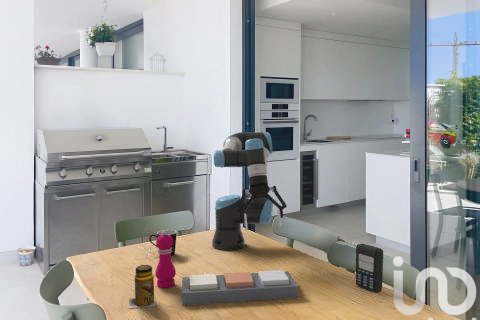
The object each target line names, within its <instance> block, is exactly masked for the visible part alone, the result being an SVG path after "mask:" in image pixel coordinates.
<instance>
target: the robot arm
mask: <svg viewBox="0 0 480 320" xmlns="http://www.w3.org/2000/svg"><path fill="white" fill-rule="evenodd" d="M272 154H273V142H272V136H271V133H269V132H268V131H265V132H264V131H260V132H257V131H256V132H255V131H252V132H251V131H249V132H245V131H243V132H242V131H241V132H236V133H234V134H231V135H229V136H228V137H226V138H225V140H224V142H223V147H222V149H216V150H214V152H213V165H214V166H215V168H247V172H248V173H247V174H248V189H245V188H244V189H243V188H242V191H241V193H242V194H241V195H239V194H230V195H228V194H227V195H224V196H221V197H217V199H216V200H215V206H214V211H215V231H214V235H213V238H212V242H211V243H212V244H211V246H212V247H213V248H214V249H217V250H223V251H234V250H240V249H242V248H244V247H245V246H246V244H245V242H246V241H245V237H244V235H243V233H242V229H241V227H242V226H241V225H244V227H245V231H249V229H248V225H250V224H251V225H252V224H253V225H265V224H267V225H268V224H270V223H271V221H272V218H273V210H274V209H273V208H274V206H275V207H276V208H277V209H278V210H277V217H278V223H279V227H280V228H281V227H283V226H282V225H283V224H282V219H283V218H284V211H283V210H284V209H286V208H287V207H288V206H287V204H286V202H285V201H284V200H283V197H282V196H281V195H280V193H279V191H278V190H277V186H276V185H273V186H269V183H268V182H269V180H268V174H267V173H268V170H267V168H268V163H267V162H268V159H269V158H270V156H271V155H272ZM270 191H271V192H272V193H274V195H275V196H276V198H277V199H278V201H279V203H278V201H276V200H275V199H274V198H273V197H272V196H271V195H270V194H269V193H270ZM280 204H281V205H280Z"/></svg>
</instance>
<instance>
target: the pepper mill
mask: <svg viewBox="0 0 480 320" xmlns="http://www.w3.org/2000/svg"><path fill="white" fill-rule="evenodd" d="M163 230H164V231H162V230H161V231H162V235H160V236H159V237H158V238H156V241H155V242H156V243H155V245H157V246H158V248H157V253H158V256H159V259H158V264H157V266H156V268H155V272H154V273H155V274H154V275H155V277H156V279H157V280H156V286H157V287H158V288H159V289H170V288H173V287H174V286H175V284H176V283H175V281H176V280H175V276H176V268H175V266H174V264H173V261H172V256H171V252H172V248H171V246H172V245H173V239H172V237H171V236H170V235H167V231H165V230H166V229H163Z"/></svg>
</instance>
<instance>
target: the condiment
mask: <svg viewBox="0 0 480 320" xmlns="http://www.w3.org/2000/svg"><path fill="white" fill-rule="evenodd" d="M154 278H155V277H154V274H153V266H152V265H149V264H141V265H137V266H136V267H135V276H134V297H133V298H128V309H129V310H130V309H139V308H149V307H156V305H157V303H156V296H155V280H154Z"/></svg>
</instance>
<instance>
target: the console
mask: <svg viewBox="0 0 480 320" xmlns="http://www.w3.org/2000/svg"><path fill="white" fill-rule="evenodd" d="M283 271H284V270H283ZM284 272H285V274H286V275H287V277H288V279H289V284H282V285H266V286H262V285H261V283H260V281H259V278H258V272H253V273H252V272H250V274H251V276H252V279H253V281H254V286H249V287H233V288H226V287H225V282H224V274H219V275H217V274H216V279H217V287H218V288H216V289H200V290H190V276H183V277H182V279H181V280H182V284H181V286H182V287H181V288H182V289H181V297H182V298H181V302H182V306H193V305H209V304H224V303H225V304H226V303H237V302H239V303H240V302H242V303H243V302H252V301H253V302H254V301H257V302H258V301H268V300H269V301H271V300H272V301H273V300H283V299H284V300H287V299H298V298H299V285H298V284H297V282H296V280H295V279H294V278H293V276H292V274H291V273H290V272H289V271H284Z"/></svg>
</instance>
